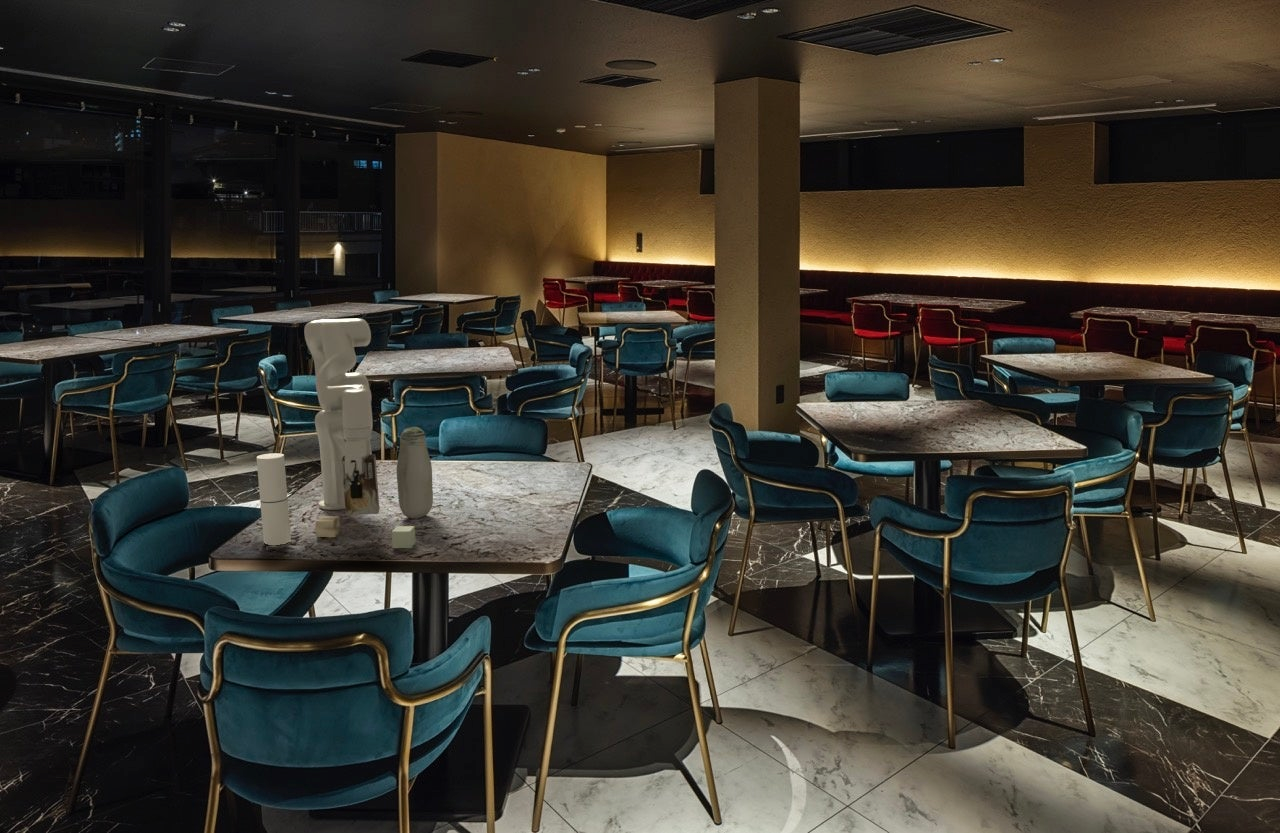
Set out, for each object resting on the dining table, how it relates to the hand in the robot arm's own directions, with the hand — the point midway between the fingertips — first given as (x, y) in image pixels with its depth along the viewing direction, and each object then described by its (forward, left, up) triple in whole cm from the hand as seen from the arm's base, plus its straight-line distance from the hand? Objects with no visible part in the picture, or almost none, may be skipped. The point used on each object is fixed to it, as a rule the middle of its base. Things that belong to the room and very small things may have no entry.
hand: (361, 493), depth 265 cm
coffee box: (0, 0, -6) cm, 6 cm away
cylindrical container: (+4, -24, -13) cm, 28 cm away
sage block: (+7, +13, -13) cm, 20 cm away
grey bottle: (-21, +9, -13) cm, 27 cm away
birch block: (-3, -12, -13) cm, 18 cm away
